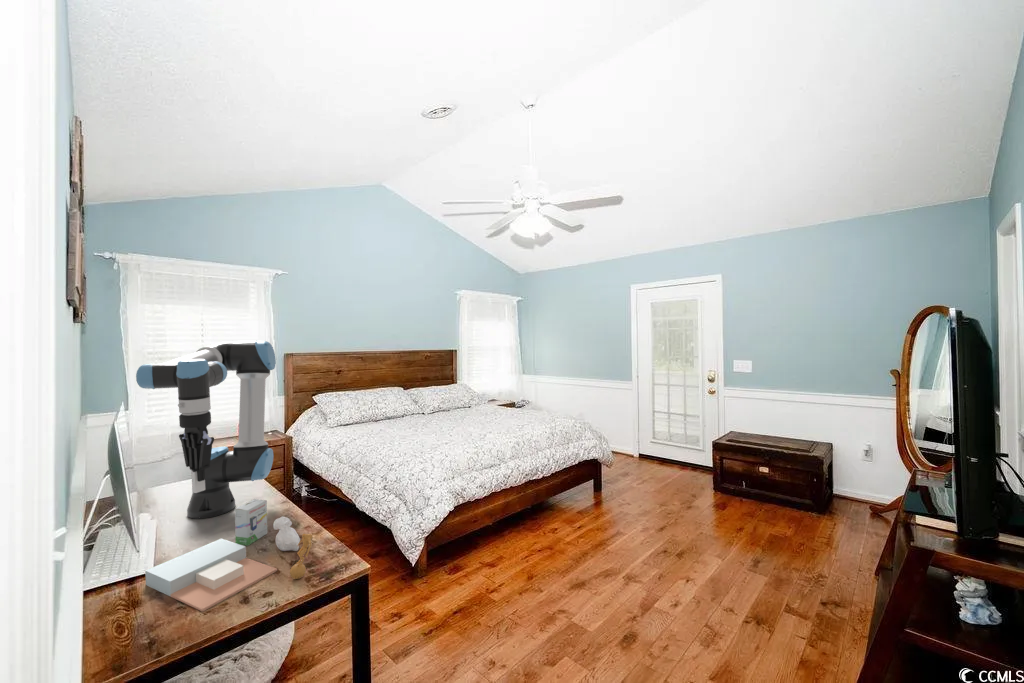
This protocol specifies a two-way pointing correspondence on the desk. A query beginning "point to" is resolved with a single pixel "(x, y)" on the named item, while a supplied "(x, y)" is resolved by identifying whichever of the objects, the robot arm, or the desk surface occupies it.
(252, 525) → the ink box
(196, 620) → the desk surface
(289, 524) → the white tied bag
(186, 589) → the mat
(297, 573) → the figurine
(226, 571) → the coaster
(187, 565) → the plate
